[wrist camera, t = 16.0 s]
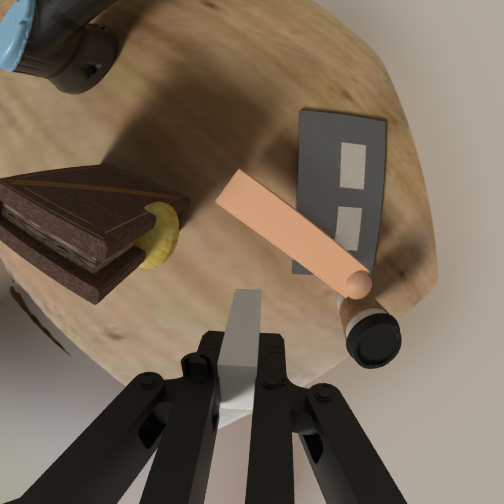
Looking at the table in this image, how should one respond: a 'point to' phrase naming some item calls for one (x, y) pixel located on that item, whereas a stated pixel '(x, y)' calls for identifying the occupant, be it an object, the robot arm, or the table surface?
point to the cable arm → (295, 235)
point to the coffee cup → (369, 331)
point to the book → (89, 225)
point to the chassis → (341, 180)
